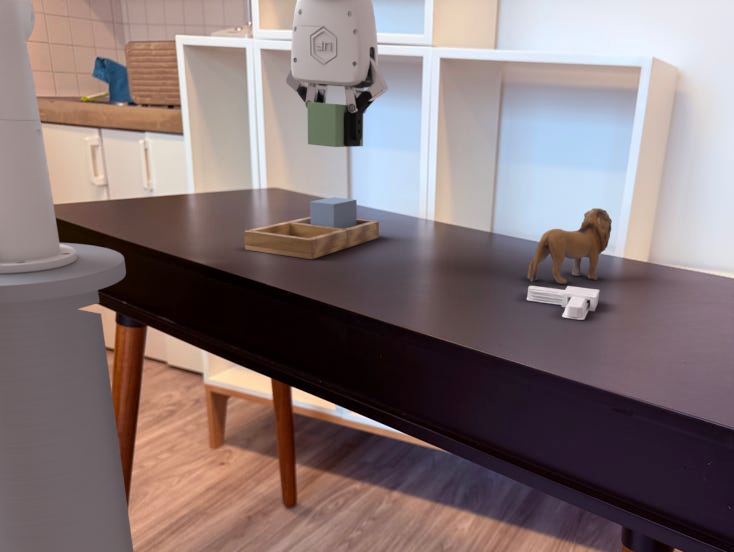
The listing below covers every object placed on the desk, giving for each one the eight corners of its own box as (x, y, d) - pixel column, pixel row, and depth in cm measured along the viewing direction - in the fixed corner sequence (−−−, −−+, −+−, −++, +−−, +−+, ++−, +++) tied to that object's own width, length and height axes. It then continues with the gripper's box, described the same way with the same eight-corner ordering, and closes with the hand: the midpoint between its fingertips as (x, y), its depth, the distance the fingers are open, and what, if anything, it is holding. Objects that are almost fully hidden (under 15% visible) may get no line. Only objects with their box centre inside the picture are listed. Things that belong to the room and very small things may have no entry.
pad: (335, 147, 82) (335, 104, 81) (307, 144, 84) (307, 101, 82) (363, 146, 89) (363, 106, 87) (336, 143, 90) (336, 104, 88)
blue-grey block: (334, 238, 99) (333, 204, 98) (310, 234, 101) (310, 201, 99) (356, 231, 106) (356, 199, 104) (334, 228, 107) (334, 197, 105)
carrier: (311, 259, 89) (311, 240, 88) (245, 249, 92) (244, 230, 91) (379, 237, 107) (379, 221, 106) (321, 230, 109) (321, 214, 109)
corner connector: (516, 311, 72) (517, 296, 71) (530, 294, 79) (532, 281, 79) (589, 321, 70) (591, 306, 70) (597, 303, 77) (599, 289, 77)
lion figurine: (583, 268, 95) (591, 205, 92) (614, 276, 92) (623, 210, 88) (515, 281, 85) (521, 210, 82) (548, 290, 81) (555, 216, 78)
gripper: (257, -23, 79) (263, 138, 85) (384, -21, 74) (380, 151, 80) (294, -11, 86) (297, 138, 92) (412, -8, 81) (406, 149, 87)
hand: (335, 142), depth 86 cm, fingers closed on pad, 4 cm apart
